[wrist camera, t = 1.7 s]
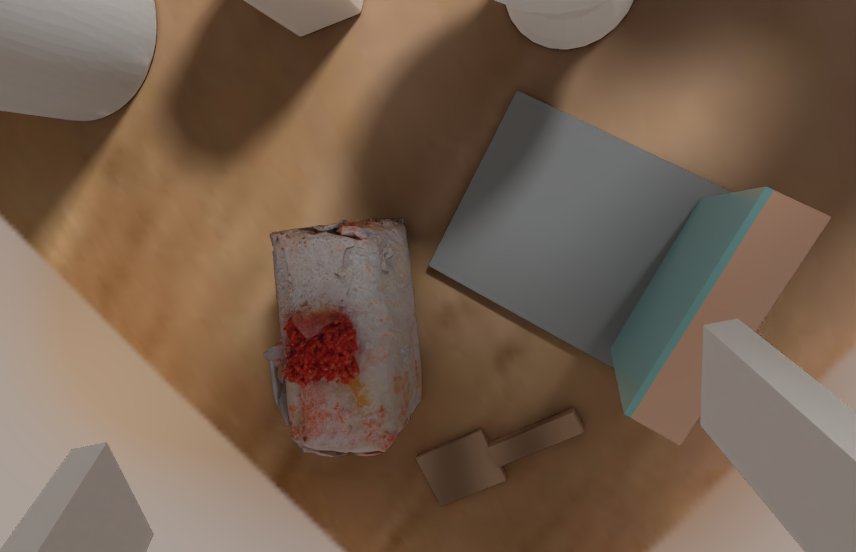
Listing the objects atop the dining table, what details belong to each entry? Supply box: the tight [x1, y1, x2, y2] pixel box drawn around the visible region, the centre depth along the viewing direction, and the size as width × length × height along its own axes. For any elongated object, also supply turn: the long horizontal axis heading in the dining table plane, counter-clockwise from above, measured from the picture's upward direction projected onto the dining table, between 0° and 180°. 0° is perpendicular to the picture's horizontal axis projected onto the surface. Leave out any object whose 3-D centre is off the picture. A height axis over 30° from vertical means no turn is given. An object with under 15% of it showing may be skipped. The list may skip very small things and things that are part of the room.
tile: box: [610, 186, 831, 446], centre depth 27 cm, size 2×10×12 cm, turn 153°
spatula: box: [416, 407, 584, 507], centre depth 37 cm, size 11×4×1 cm, turn 119°
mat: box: [428, 90, 732, 368], centre depth 34 cm, size 16×12×1 cm
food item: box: [263, 218, 422, 457], centre depth 34 cm, size 14×8×10 cm, turn 6°
